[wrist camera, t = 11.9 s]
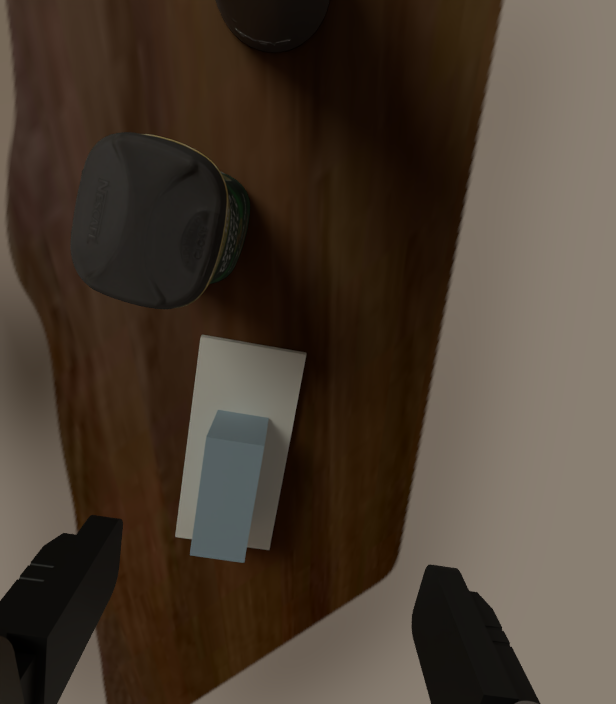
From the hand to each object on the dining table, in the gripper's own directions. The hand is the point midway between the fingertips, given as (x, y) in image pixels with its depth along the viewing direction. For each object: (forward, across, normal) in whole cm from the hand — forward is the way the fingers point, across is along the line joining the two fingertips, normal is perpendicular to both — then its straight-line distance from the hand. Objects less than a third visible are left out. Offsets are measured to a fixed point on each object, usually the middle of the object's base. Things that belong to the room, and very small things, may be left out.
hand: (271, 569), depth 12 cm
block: (+32, +3, +16) cm, 36 cm away
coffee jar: (+33, +9, -7) cm, 35 cm away
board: (+33, +3, +14) cm, 36 cm away
